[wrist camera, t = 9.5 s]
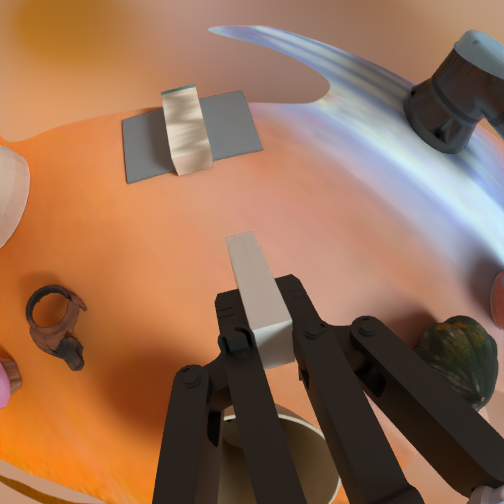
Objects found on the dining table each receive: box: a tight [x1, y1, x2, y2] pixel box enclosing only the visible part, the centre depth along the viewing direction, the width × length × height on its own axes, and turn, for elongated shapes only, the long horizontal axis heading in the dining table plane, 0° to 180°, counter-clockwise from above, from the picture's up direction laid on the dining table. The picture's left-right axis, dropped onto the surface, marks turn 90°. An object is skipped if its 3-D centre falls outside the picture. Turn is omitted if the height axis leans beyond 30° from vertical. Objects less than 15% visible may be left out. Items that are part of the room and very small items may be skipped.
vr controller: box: [26, 285, 87, 371], centre depth 33 cm, size 12×10×8 cm
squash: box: [413, 315, 498, 412], centre depth 30 cm, size 14×15×15 cm
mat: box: [122, 91, 263, 184], centre depth 42 cm, size 20×12×1 cm, turn 105°
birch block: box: [161, 84, 213, 176], centre depth 39 cm, size 5×5×12 cm
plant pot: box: [218, 404, 341, 504], centre depth 26 cm, size 15×15×16 cm
